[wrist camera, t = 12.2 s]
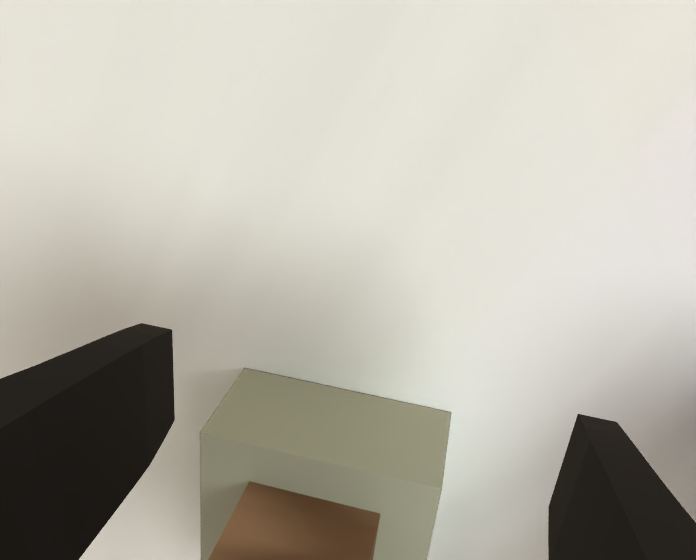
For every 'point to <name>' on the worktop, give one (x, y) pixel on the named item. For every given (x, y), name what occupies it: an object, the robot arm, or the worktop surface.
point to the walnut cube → (295, 528)
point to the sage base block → (326, 456)
